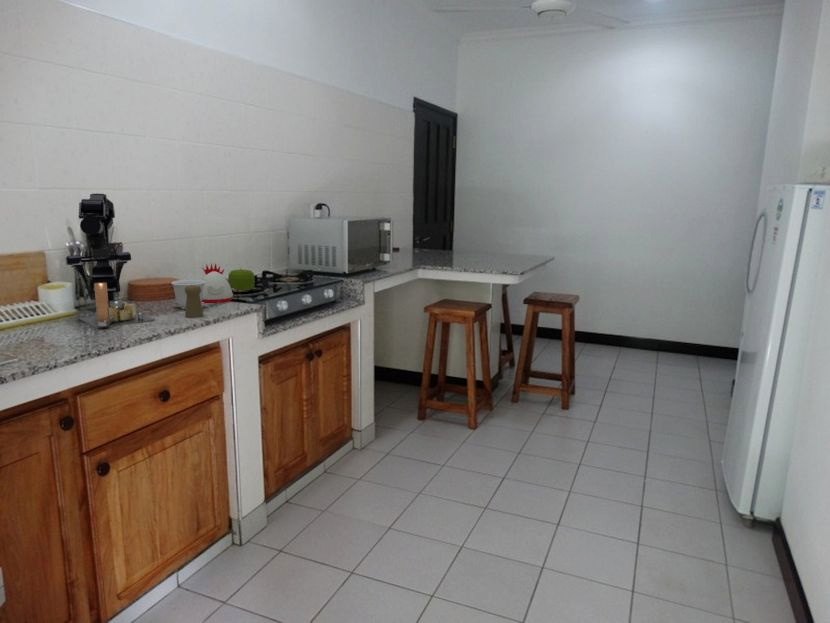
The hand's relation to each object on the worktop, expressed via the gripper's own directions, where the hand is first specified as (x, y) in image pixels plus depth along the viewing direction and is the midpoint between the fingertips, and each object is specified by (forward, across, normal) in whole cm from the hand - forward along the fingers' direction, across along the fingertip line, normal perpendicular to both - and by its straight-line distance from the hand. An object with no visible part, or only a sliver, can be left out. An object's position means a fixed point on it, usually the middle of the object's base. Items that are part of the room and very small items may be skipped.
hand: (102, 284), depth 191 cm
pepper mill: (+14, +26, -7) cm, 30 cm away
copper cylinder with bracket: (+12, +1, -5) cm, 13 cm away
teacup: (+12, +29, +7) cm, 32 cm away
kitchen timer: (+10, +41, +20) cm, 47 cm away
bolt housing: (+12, +3, -1) cm, 13 cm away
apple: (+9, +57, +33) cm, 66 cm away
